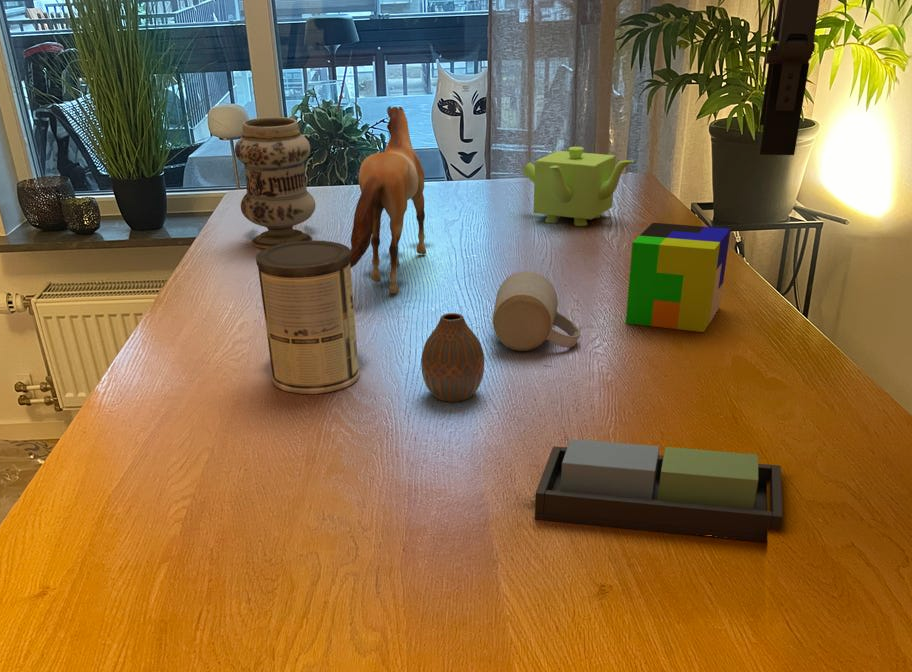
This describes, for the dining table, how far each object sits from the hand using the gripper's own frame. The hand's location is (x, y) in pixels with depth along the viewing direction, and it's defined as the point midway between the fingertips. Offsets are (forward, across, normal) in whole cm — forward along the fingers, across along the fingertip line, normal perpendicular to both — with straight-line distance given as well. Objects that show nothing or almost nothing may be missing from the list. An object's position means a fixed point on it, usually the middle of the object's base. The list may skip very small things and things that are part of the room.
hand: (775, 139), depth 88 cm
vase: (+27, -2, -30) cm, 40 cm away
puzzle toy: (+27, -33, -8) cm, 43 cm away
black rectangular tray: (+27, +19, -6) cm, 33 cm away
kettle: (+27, -80, -28) cm, 89 cm away
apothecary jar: (+27, -59, -73) cm, 98 cm away
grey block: (+26, +19, -10) cm, 34 cm away
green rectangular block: (+26, +19, -2) cm, 32 cm away
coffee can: (+27, -4, -47) cm, 54 cm away
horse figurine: (+27, -44, -52) cm, 73 cm away
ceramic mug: (+27, -20, -24) cm, 41 cm away
